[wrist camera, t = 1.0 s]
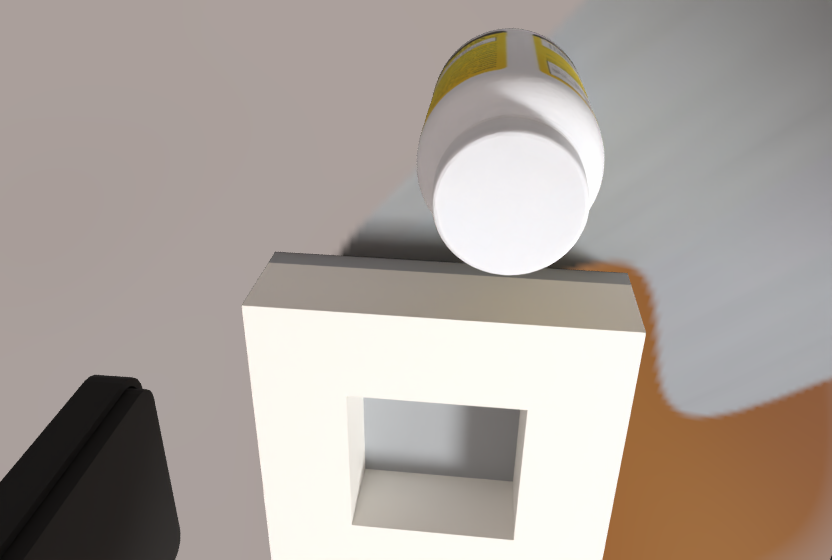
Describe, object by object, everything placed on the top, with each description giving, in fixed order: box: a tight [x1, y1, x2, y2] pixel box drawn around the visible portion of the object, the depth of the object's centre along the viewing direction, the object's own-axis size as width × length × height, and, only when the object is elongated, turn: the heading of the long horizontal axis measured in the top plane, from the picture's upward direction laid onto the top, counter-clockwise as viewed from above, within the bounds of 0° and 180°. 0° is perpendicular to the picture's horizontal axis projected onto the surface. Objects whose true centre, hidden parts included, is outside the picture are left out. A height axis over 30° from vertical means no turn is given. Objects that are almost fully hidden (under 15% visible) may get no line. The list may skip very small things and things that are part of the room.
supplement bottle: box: [417, 28, 604, 275], centre depth 23 cm, size 5×5×10 cm
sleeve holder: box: [242, 252, 646, 560], centre depth 32 cm, size 15×15×4 cm
